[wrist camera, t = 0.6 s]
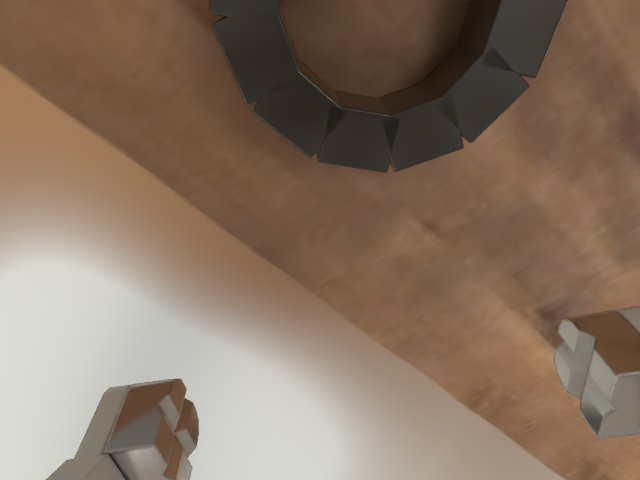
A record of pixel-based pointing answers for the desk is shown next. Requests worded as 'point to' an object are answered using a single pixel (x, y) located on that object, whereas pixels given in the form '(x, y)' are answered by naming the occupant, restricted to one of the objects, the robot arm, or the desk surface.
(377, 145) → the ring
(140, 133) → the desk surface
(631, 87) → the desk surface
